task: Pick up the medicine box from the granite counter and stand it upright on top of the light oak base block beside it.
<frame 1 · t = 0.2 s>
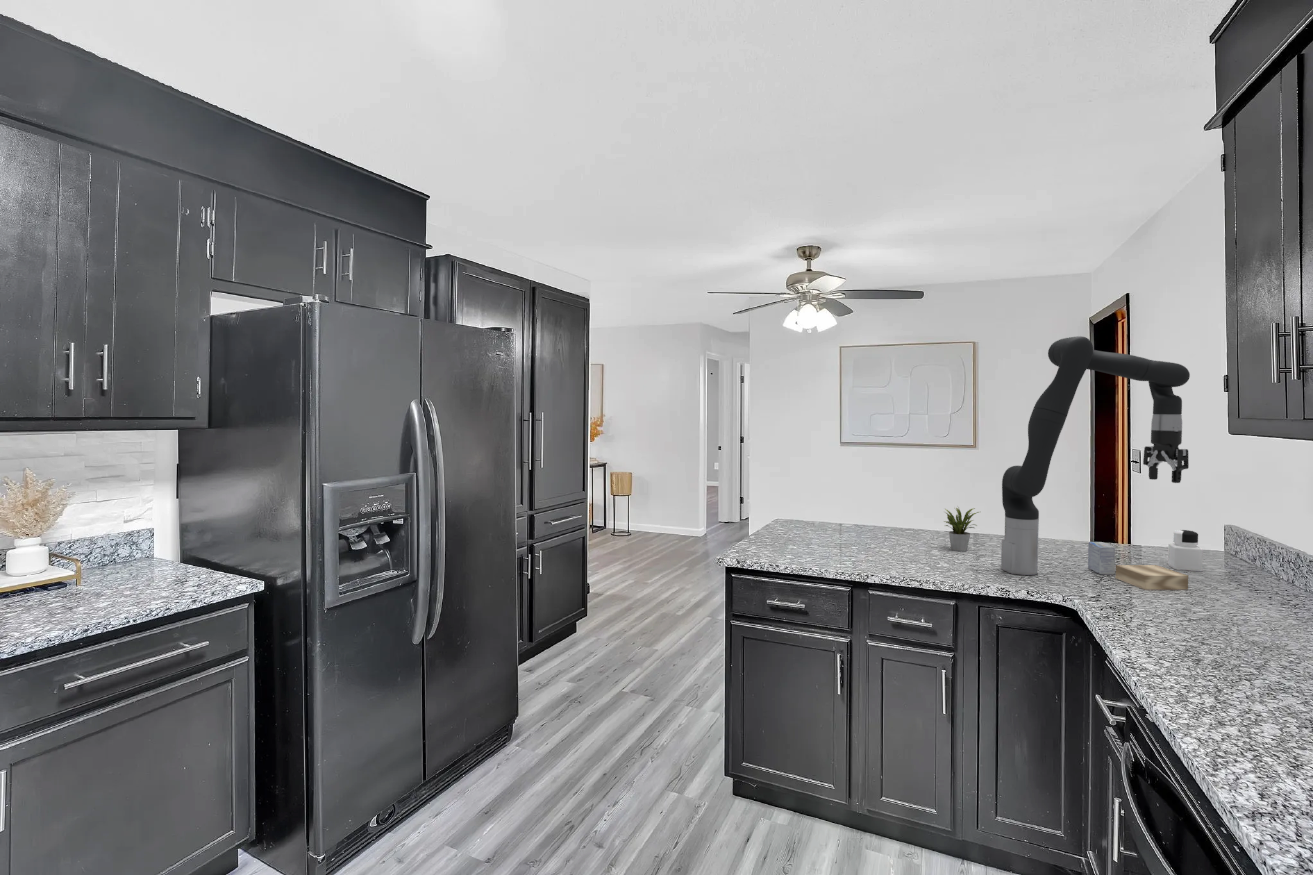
hand: (1164, 481, 201), 28 cm above the worktop, tool pointing down, fingers open, 8 cm apart
house plant: (963, 550, 233), on the worktop
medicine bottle: (1184, 568, 206), on the worktop
medicine box: (1101, 572, 202), on the worktop
oak base: (1150, 583, 188), on the worktop
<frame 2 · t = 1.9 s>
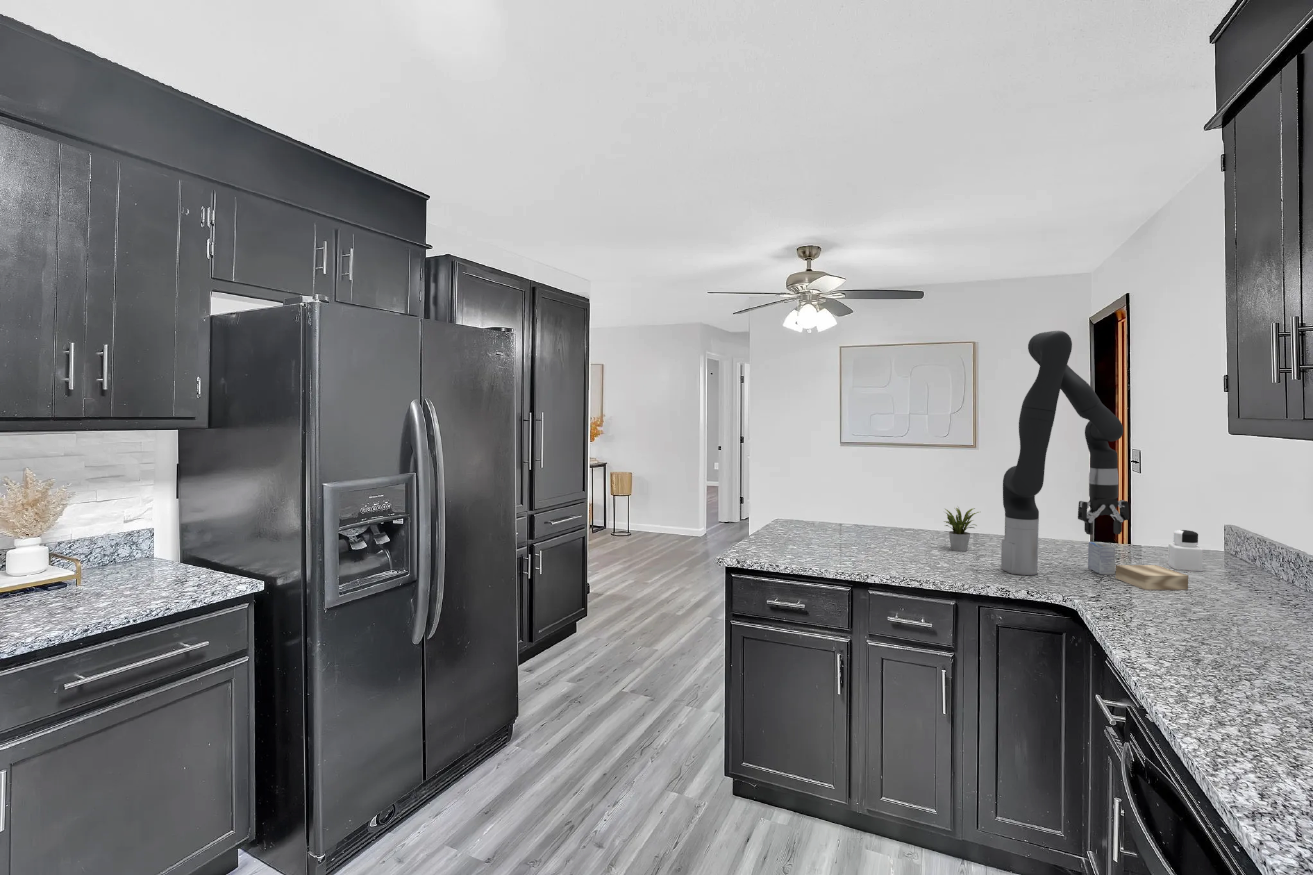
hand: (1103, 534, 201), 12 cm above the worktop, tool pointing down, fingers open, 8 cm apart
nothing on the worktop moved.
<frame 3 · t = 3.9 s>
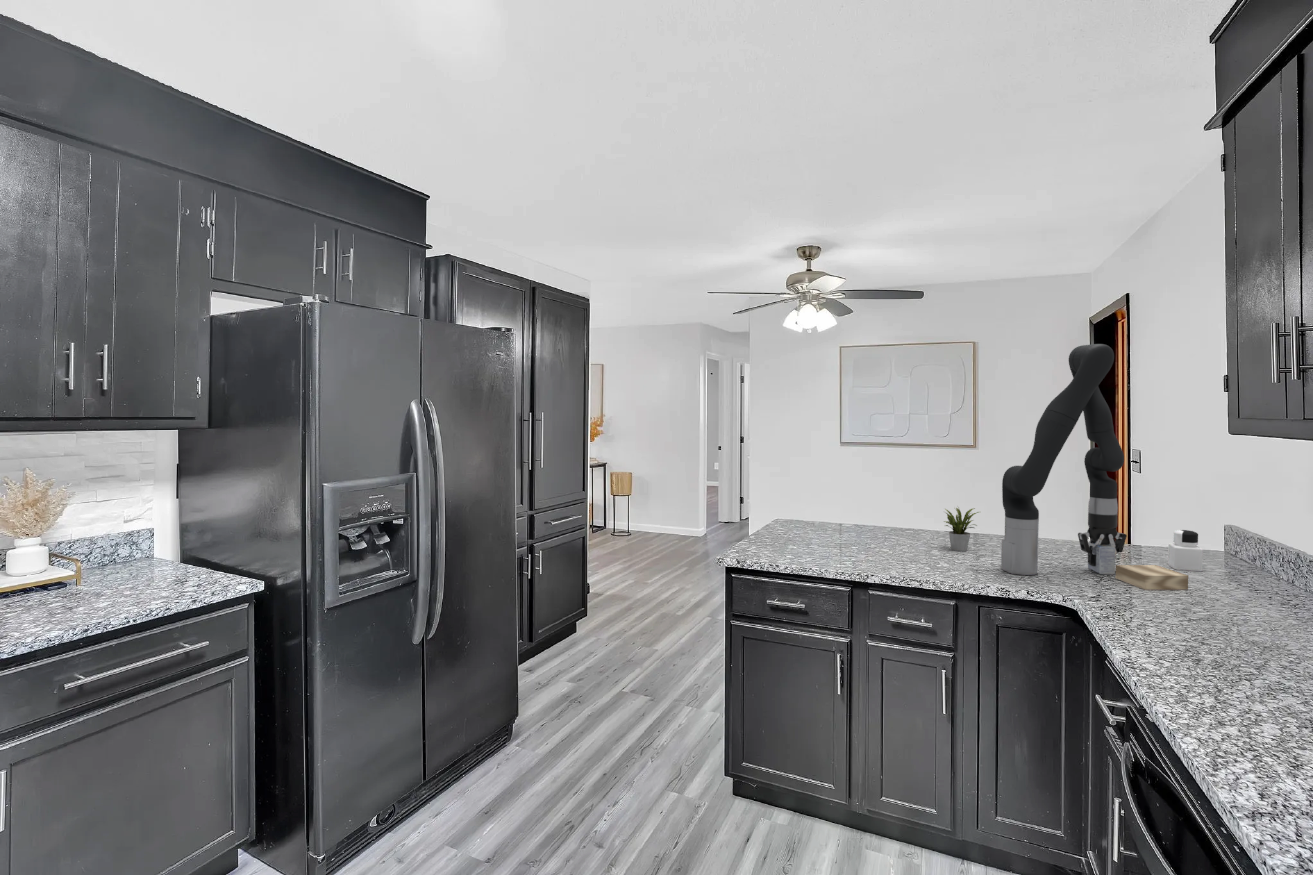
hand: (1101, 565, 202), 2 cm above the worktop, tool pointing down, fingers closed on medicine box, 5 cm apart
medicine box: (1101, 572, 202), on the worktop, touching gripper
everything else where it was.
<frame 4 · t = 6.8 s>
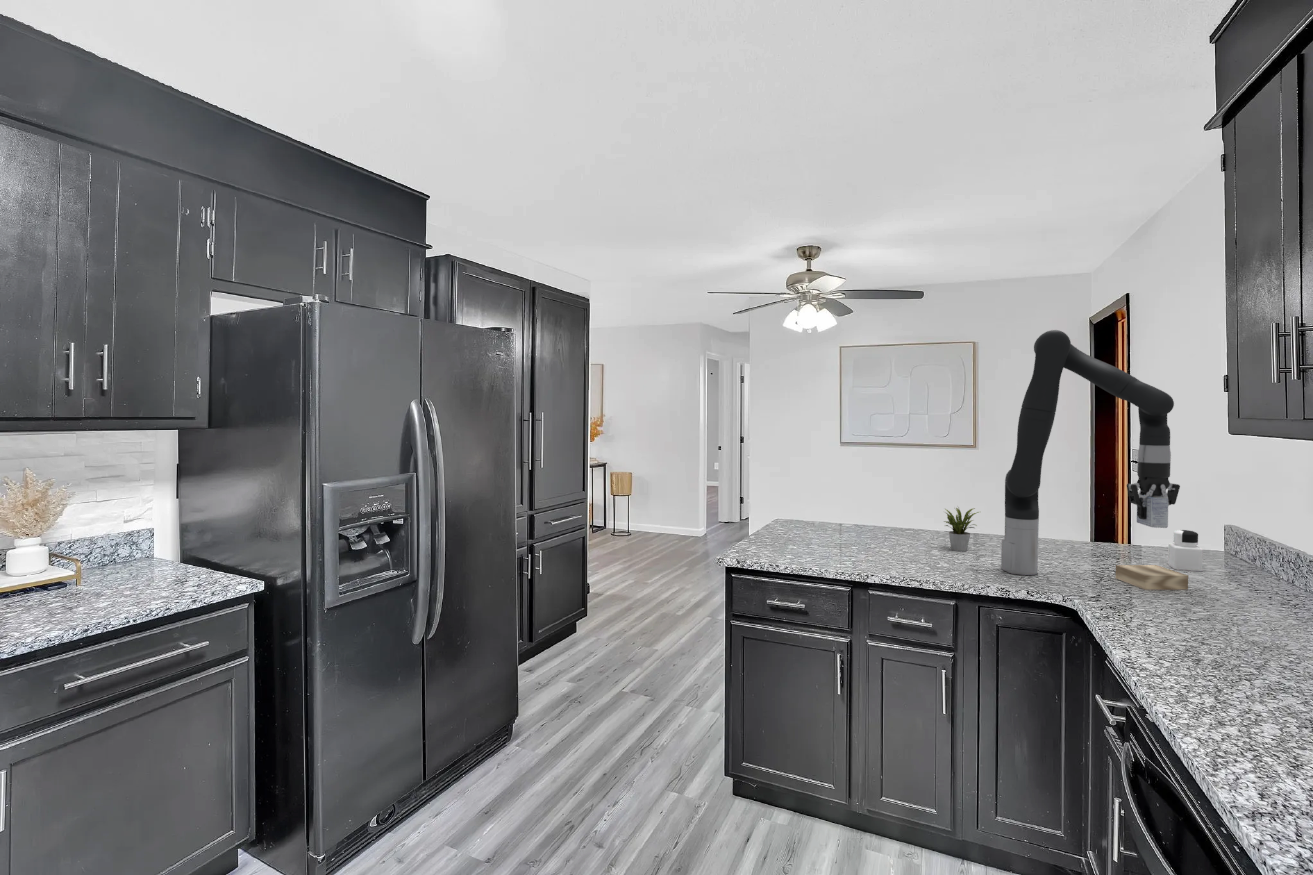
hand: (1152, 518, 187), 19 cm above the worktop, tool pointing down, fingers closed on medicine box, 5 cm apart
medicine box: (1151, 526, 187), point 17 cm above the worktop, touching gripper
everything else where it was.
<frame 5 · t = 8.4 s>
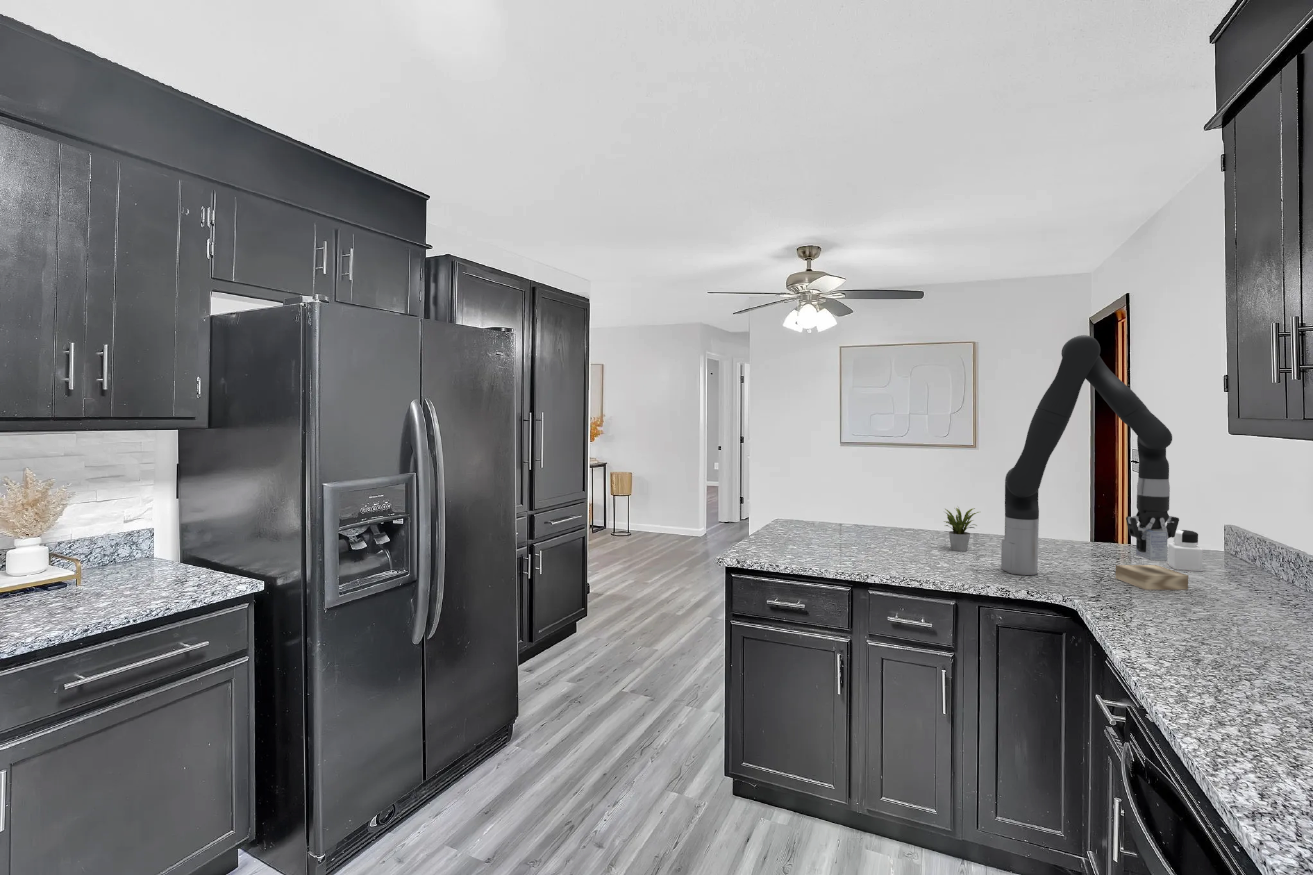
hand: (1151, 551, 188), 9 cm above the worktop, tool pointing down, fingers closed on medicine box, 5 cm apart
medicine box: (1151, 558, 188), point 7 cm above the worktop, touching gripper
everything else where it was.
when the fingers open (7 cm above the worktop, at t = 9.7 s): medicine box drops 1 cm, resting on oak base.
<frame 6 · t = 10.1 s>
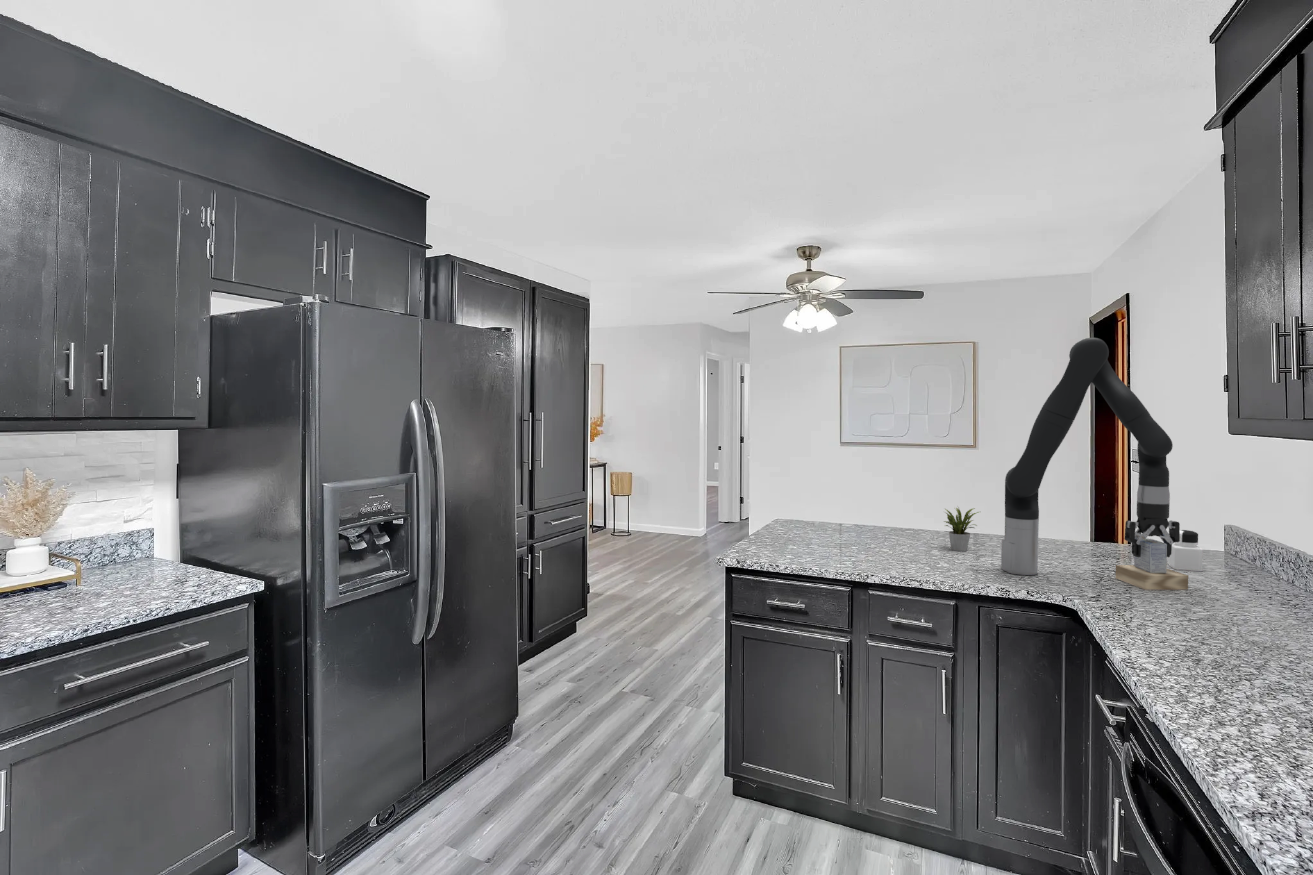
hand: (1151, 556, 188), 8 cm above the worktop, tool pointing down, fingers open, 8 cm apart
medicine box: (1149, 570, 188), point 4 cm above the worktop, touching oak base
everything else where it was.
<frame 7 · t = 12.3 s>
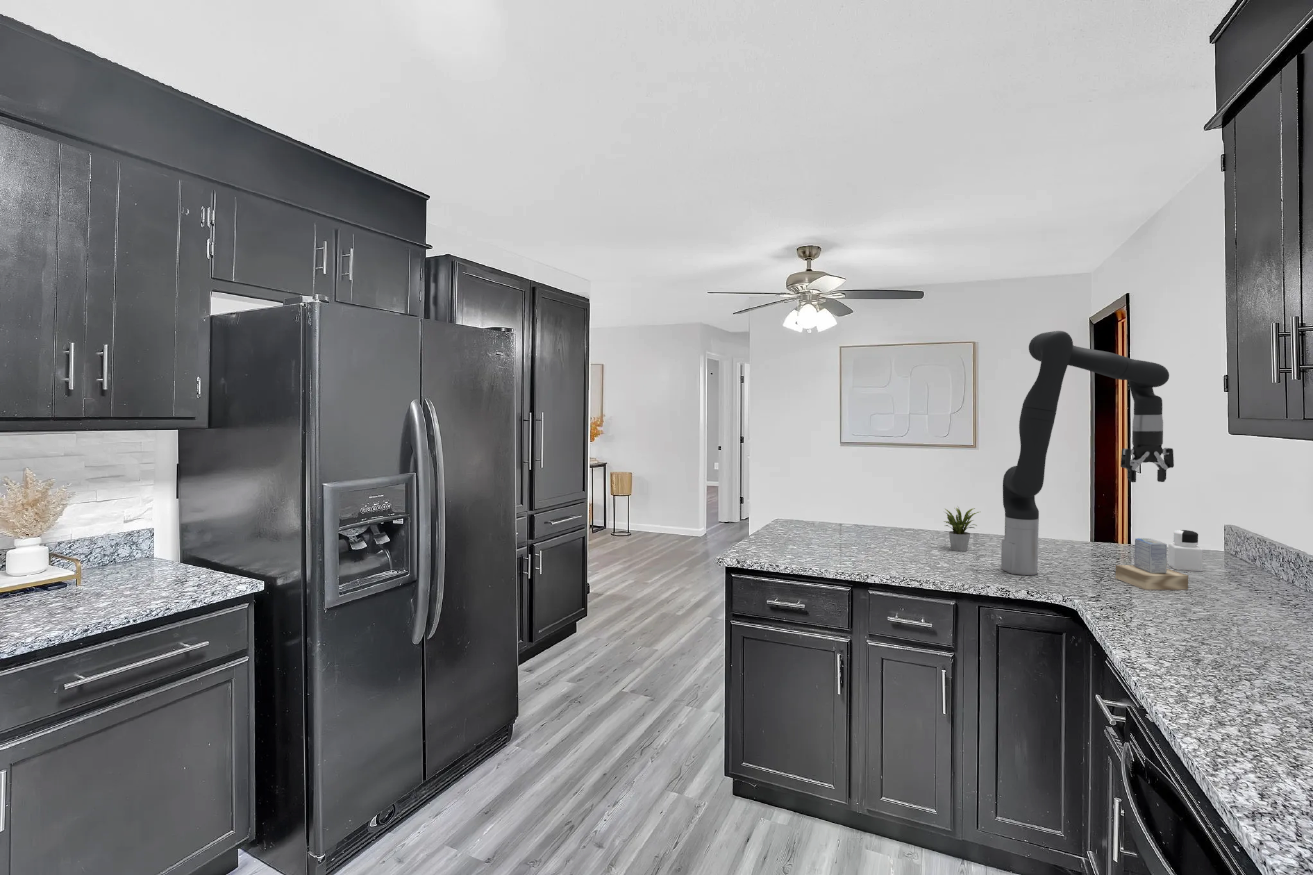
hand: (1146, 481, 199), 28 cm above the worktop, tool pointing down, fingers open, 8 cm apart
nothing on the worktop moved.
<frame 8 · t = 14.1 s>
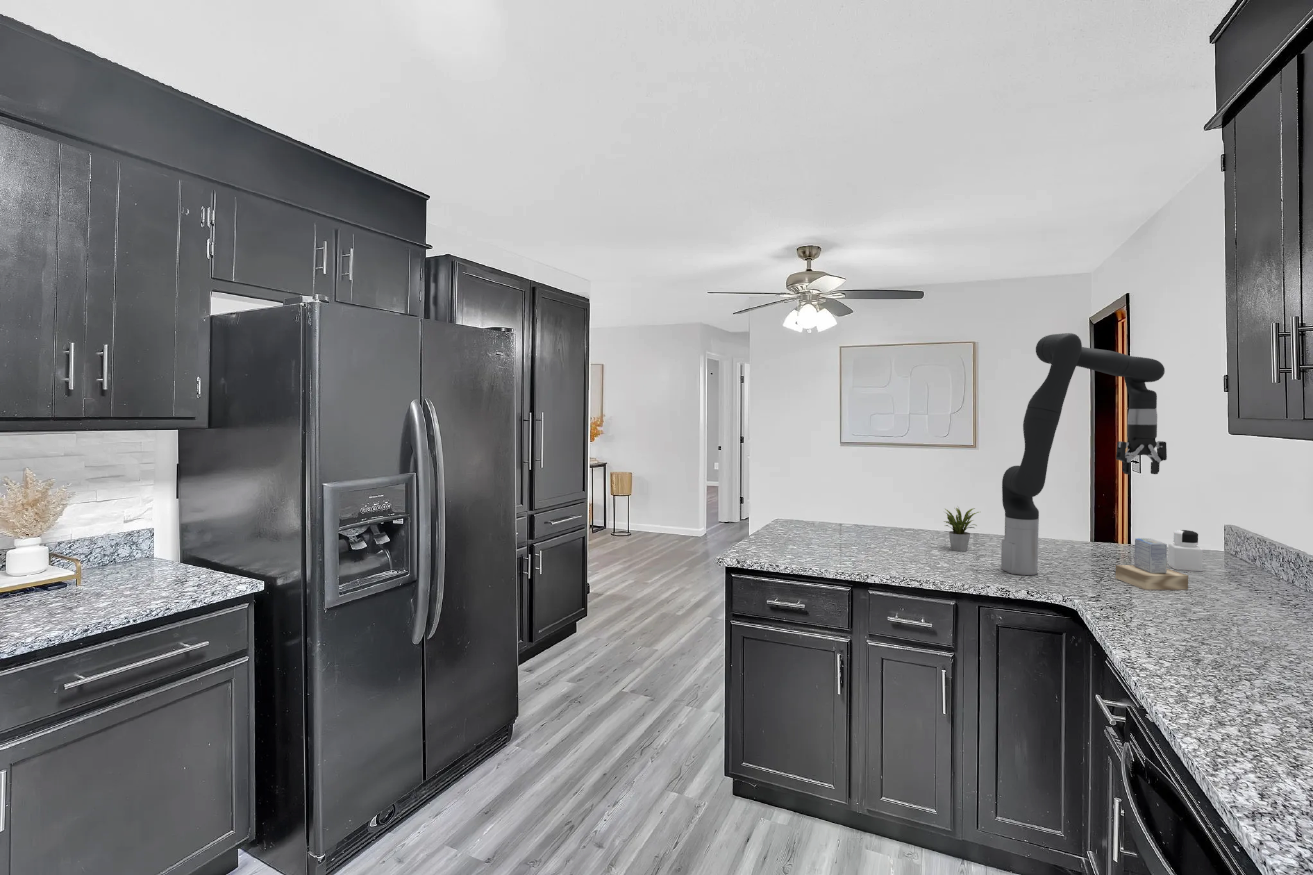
hand: (1140, 474, 205), 30 cm above the worktop, tool pointing down, fingers open, 8 cm apart
nothing on the worktop moved.
at the end: medicine box inside the target area on the oak base (0.2 cm from its centre), point 3.8 cm above the oak base's base; medicine box tilted 0°; the gripper is holding nothing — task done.
